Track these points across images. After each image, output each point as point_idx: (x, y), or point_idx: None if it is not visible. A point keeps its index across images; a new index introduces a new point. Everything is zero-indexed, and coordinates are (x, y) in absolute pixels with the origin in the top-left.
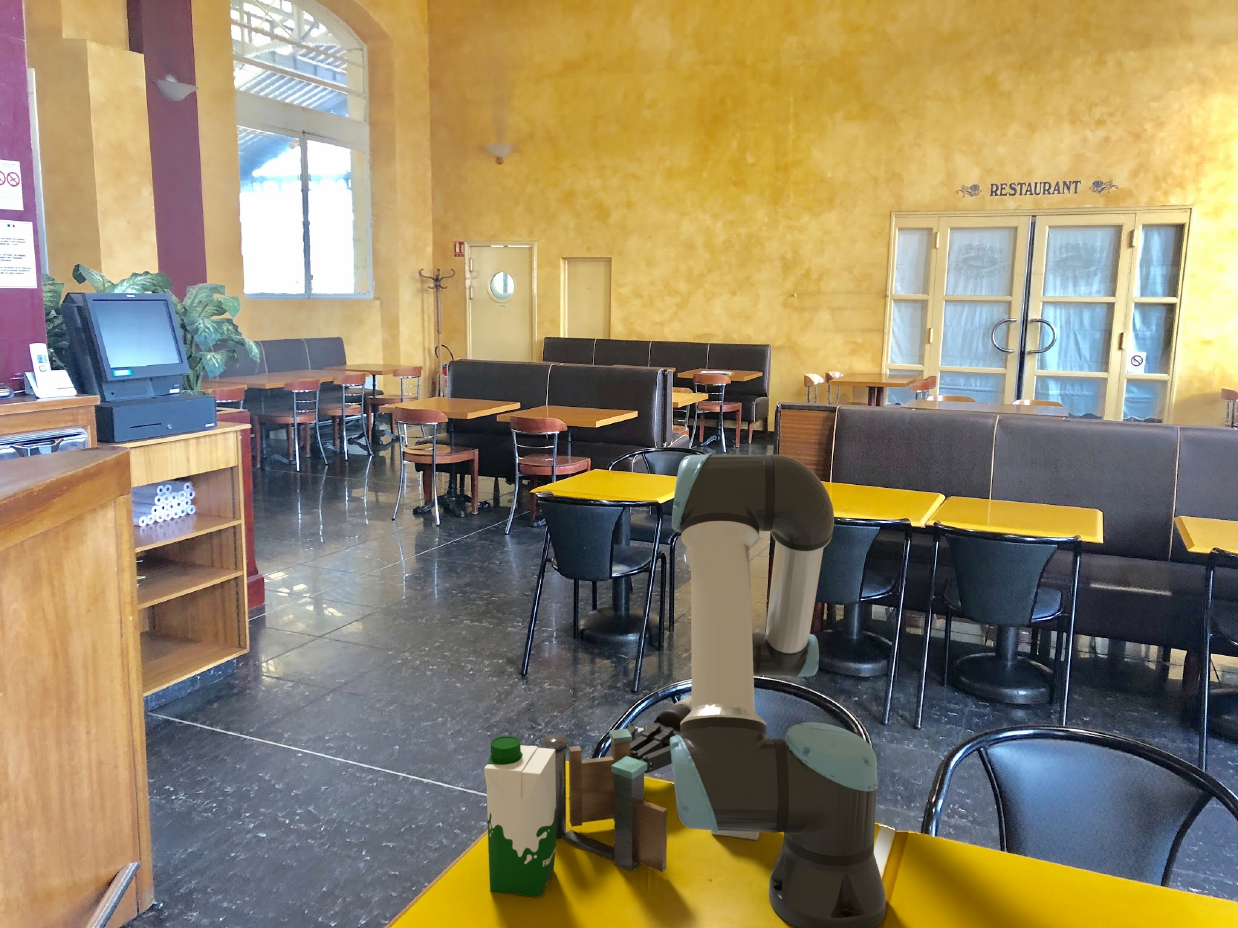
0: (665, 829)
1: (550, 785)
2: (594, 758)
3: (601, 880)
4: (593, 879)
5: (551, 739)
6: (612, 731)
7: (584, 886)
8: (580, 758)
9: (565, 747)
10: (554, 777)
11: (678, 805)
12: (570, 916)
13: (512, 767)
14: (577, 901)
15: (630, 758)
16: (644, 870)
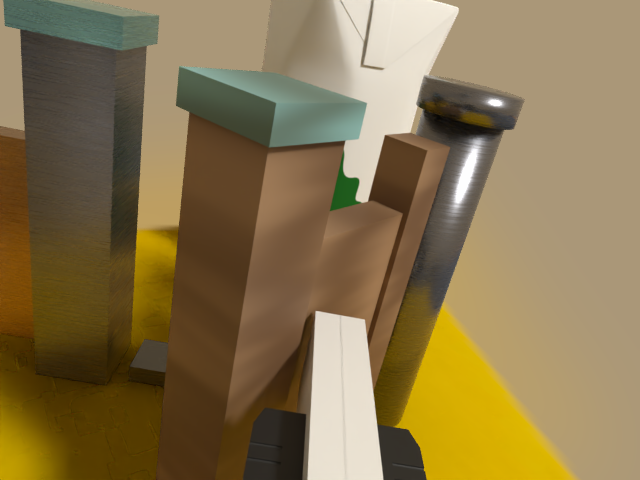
0: None
1: (274, 34)
2: (362, 227)
3: (142, 297)
4: (163, 296)
5: (481, 88)
6: (340, 97)
7: (172, 278)
8: (377, 171)
9: (419, 102)
10: (288, 37)
11: None
12: (161, 230)
13: None
14: (166, 251)
15: (96, 10)
16: (26, 345)
